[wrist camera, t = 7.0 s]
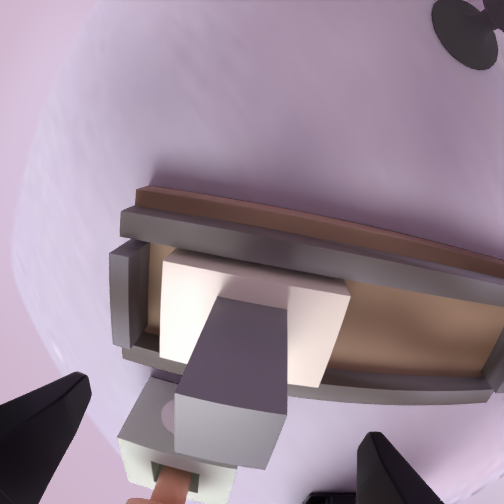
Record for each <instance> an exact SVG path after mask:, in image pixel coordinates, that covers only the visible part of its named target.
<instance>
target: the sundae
mask: <svg viewBox="0 0 504 504" xmlns="http://www.w3.org/2000/svg"><path fill="white" fill-rule="evenodd" d="M483 4H484V7H485V9H484V10H483V11H481V12H480V11H479V10H477V9H476V8H475V7H473V6H472V5H470V4H469V3H467V2H465V1H463V0H438V1H437V2H436V3H435V5H434V7H433V11H432V20H433V25H434V29H435V31H436V33H437V35H438V37H439V39H440V41H441V42H442V44H443V45H444V46H445V48H446V49H447V50H448V51H449V52H450V53H451V54H452V56H453V57H455V58H456V59H457V60H458V61H460V62H461V63H463V64H464V65H466V66H468V67H470V68H473V69H477V70H485V69H489V68H490V67H491V66H493V64H494V63H495V62H496V60H497V55H498V46H497V41H496V36H495V34H494V31H493V30H495V29H498V28H499V29H500V30H502V31H503V32H504V0H483Z"/></svg>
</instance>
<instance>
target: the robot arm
mask: <svg viewBox="0 0 504 504" xmlns="http://www.w3.org/2000/svg"><path fill="white" fill-rule="evenodd" d="M91 395H92V392H91V387H90V383H89V378H88V376H87V375H85V374H83V373H80V372H73V373H71V374H69V375H67V376H65V377H63V378H60V379H58V380H56V381H54V382H52V383H50V384H48V385H45V386H43V387H41V388H38V389H36V390H34V391H31V392H29V393H27V394H25V395H22V396H20V397H18V398H15V399H13V400H11V401H9V402H6V403H4V404H2V405H0V504H38V503H39V502H40V499H41V498H42V496H43V494H44V492H45V490H46V488H47V486H48V484H49V482H50V480H51V478H52V476H53V474H54V472H55V471H56V469H57V467H58V465H59V463H60V461H61V460H62V458H63V456H64V454H65V452H66V450H67V449H68V447H69V445H70V443H71V441H72V440H73V438H74V436H75V434H76V432H77V429H78V427H79V425H80V422H81V420H82V418H83V415H84V413H85V411H86V408H87V406H88V404H89V401H90V399H91ZM303 504H444V503H443V501H440V498H439V497H438V496H437V495H436V494H435V493H434V492H433V490H432V489H431V488H430V487H429V486H428V485H427V484H426V483H425V481H424V480H423V479H422V478H421V477H420V476H419V475H418V474H417V472H416V471H415V470H414V469H413V468H412V467H411V466H410V465H409V463H408V462H407V461H406V460H405V459H404V458H403V457H402V455H401V454H400V453H399V452H398V451H397V450H396V449H395V447H394V446H393V445H392V444H391V443H390V442H389V441H388V439H387V438H386V437H385V436H384V435H383V434H382V433H381V432H369V433H367V435H366V436H365V438H364V439H363V441H362V442H361V444H360V445H359V447H358V450H357V481H356V493H346V494H329V493H312V494H310V495H309V496H308V497H307V499H306V500H305V501H304V503H303Z"/></svg>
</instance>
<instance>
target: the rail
mask: <svg viewBox="0 0 504 504" xmlns="http://www.w3.org/2000/svg"><path fill="white" fill-rule="evenodd" d="M120 236H121V237H126V238H131V239H130V240H129V241H127V242H126V243H124V244H123V245H121V246H119V247H118V248H116V249H115V250H113V251H112V252H110V253H109V282H110V308H111V325H112V338H113V344H114V345H117V346H120V347H122V354H123V359H126V360H130V361H133V362H136V363H140V364H143V365H146V366H150V367H153V368H157V369H160V370H164V371H168V372H171V373H175V374H179V375H183V373H184V370H185V368H186V366H187V364H185V363H181V362H177V361H173V360H169V359H165V358H161V357H160V312H161V287H162V269H163V260H164V259H165V258H166V257H167V256H169V255H170V254H171V253H172V252H173V251H174V250H175V249H176V248H181V249H186V250H192V251H197V252H202V253H207V254H212V255H218V256H223V257H228V258H233V259H238V260H244V261H249V262H254V263H259V264H265V265H270V266H275V267H281V268H286V269H291V270H297V271H302V272H308V273H313V274H318V275H324V276H329V277H335V278H340V279H343V280H344V282H345V284H346V286H347V289H348V291H349V293H350V296H351V297H350V300H349V304H348V307H347V310H346V313H345V316H344V319H343V322H342V325H341V328H340V331H339V334H338V336H337V339H336V342H335V345H334V348H333V350H332V353H331V356H330V358H329V361H328V364H327V366H326V369H325V372H324V374H323V377H322V379H321V382H320V384H319V387H318V388H316V387H308V386H300V385H293V384H288V385H287V396H292V397H299V398H307V399H316V400H325V401H336V402H348V403H362V404H381V405H452V404H470V403H484V402H487V401H488V399H489V398H490V396H491V395H492V393H493V392H494V391H495V393H504V260H500V259H497V258H493V257H490V256H486V255H483V254H479V253H476V252H472V251H468V250H465V249H461V248H457V247H453V246H450V245H446V244H442V243H438V242H434V241H430V240H426V239H422V238H418V237H414V236H410V235H406V234H402V233H398V232H393V231H389V230H385V229H380V228H376V227H372V226H367V225H363V224H358V223H354V222H349V221H345V220H340V219H335V218H330V217H326V216H321V215H316V214H311V213H306V212H301V211H296V210H291V209H286V208H280V207H275V206H270V205H264V204H259V203H253V202H248V201H242V200H236V199H230V198H224V197H218V196H212V195H206V194H200V193H194V192H187V191H181V190H174V189H167V188H160V187H153V186H146V187H143V188H139V189H136V199H135V205H134V206H132V207H130V208H127V209H125V210H122V211H121V219H120Z"/></svg>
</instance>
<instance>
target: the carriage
mask: <svg viewBox="0 0 504 504" xmlns="http://www.w3.org/2000/svg"><path fill="white" fill-rule="evenodd" d="M350 297H351V296H350V293H349V291H348V289H347V286H346V284H345V282H344V280H343V279H340V278H335V277H329V276H324V275H318V274H313V273H308V272H302V271H297V270H291V269H286V268H281V267H275V266H270V265H265V264H259V263H254V262H249V261H244V260H238V259H233V258H228V257H223V256H218V255H212V254H207V253H202V252H197V251H192V250H186V249H181V248H176V249H175V250H174V251H173V252H172V253H171V254H170V255H169V256H167V257H166V258H165V259H164V260H163V269H162V287H161V312H160V357H161V358H165V359H169V360H173V361H177V362H181V363H185V364H187V366H186V368H185V370H184V373H183V375H182V377H181V379H180V382H179V384H178V386H177V389H176V391H175V402H174V450H175V452H177V453H181V454H185V455H189V456H193V457H197V458H201V459H206V460H210V461H215V462H220V463H225V464H231V465H236V466H242V467H248V468H255V469H262V470H265V469H266V467H267V464H268V462H269V460H270V457H271V455H272V452H273V450H274V447H275V445H276V442H277V440H278V437H279V435H280V432H281V430H282V427H283V425H284V422H285V419H286V417H287V385H288V384H293V385H300V386H308V387H316V388H318V387H319V384H320V382H321V379H322V377H323V374H324V372H325V369H326V366H327V364H328V361H329V358H330V356H331V353H332V350H333V348H334V345H335V342H336V339H337V336H338V334H339V331H340V328H341V325H342V322H343V319H344V316H345V313H346V310H347V307H348V304H349V300H350Z"/></svg>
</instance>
